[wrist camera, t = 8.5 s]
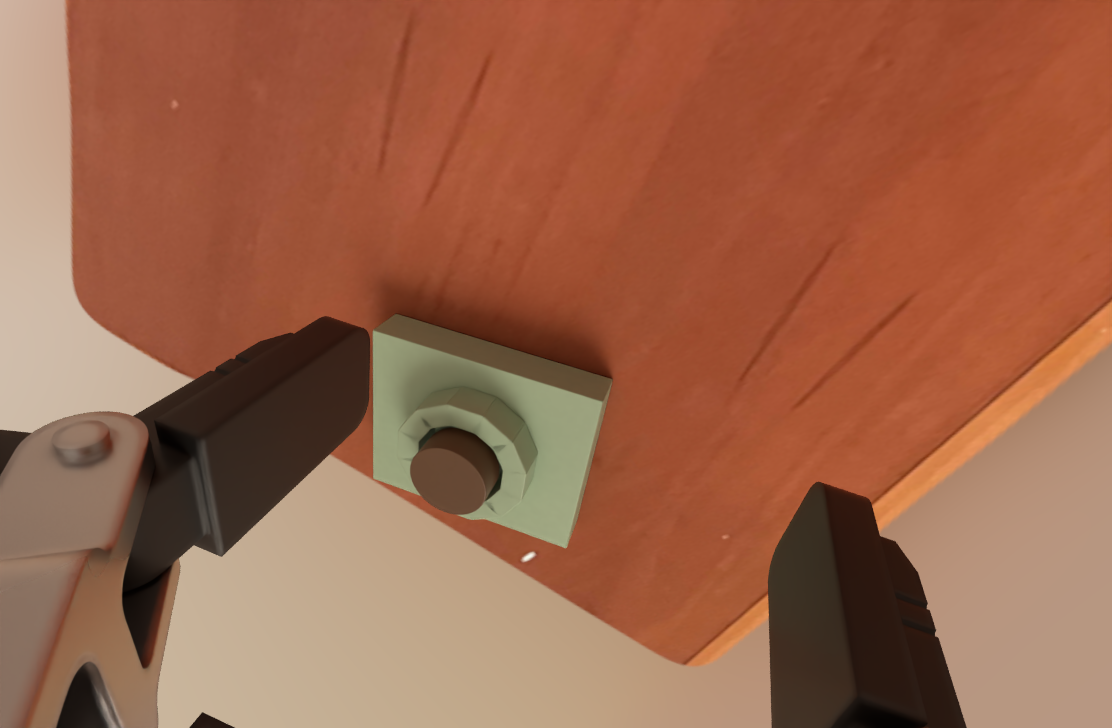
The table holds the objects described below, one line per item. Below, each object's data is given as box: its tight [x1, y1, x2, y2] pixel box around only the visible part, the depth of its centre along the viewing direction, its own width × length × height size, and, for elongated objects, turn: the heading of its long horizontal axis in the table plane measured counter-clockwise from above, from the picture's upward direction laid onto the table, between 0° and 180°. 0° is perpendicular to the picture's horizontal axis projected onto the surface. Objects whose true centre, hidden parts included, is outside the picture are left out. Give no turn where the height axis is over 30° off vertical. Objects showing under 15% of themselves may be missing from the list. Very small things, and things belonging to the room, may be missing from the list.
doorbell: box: [373, 314, 613, 548], centre depth 30 cm, size 12×10×4 cm
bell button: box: [410, 428, 499, 515], centre depth 28 cm, size 4×4×2 cm
